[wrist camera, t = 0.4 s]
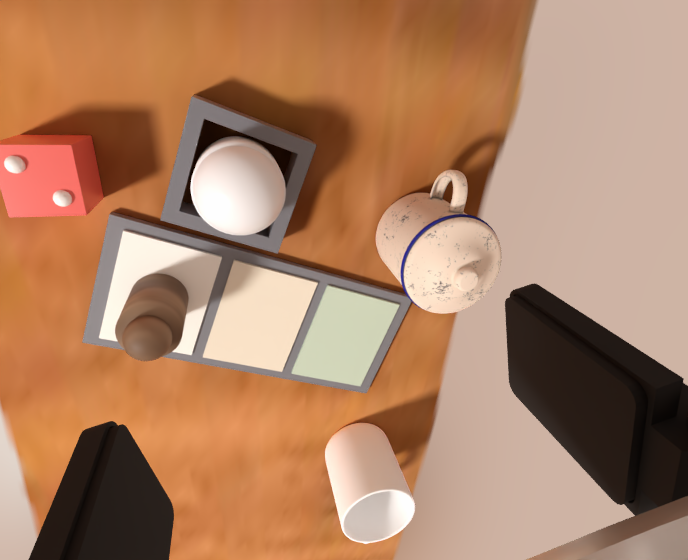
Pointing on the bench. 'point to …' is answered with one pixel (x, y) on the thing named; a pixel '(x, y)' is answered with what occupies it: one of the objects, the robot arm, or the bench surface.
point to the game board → (249, 307)
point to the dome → (238, 186)
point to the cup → (367, 484)
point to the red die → (49, 175)
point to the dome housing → (256, 128)
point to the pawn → (153, 317)
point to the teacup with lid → (439, 247)
